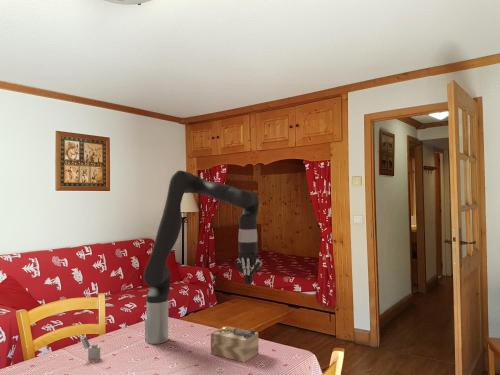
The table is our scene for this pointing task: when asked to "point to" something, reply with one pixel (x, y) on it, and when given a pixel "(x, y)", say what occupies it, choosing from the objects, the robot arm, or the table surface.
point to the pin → (226, 329)
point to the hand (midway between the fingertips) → (248, 284)
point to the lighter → (91, 349)
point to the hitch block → (234, 345)
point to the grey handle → (241, 331)
